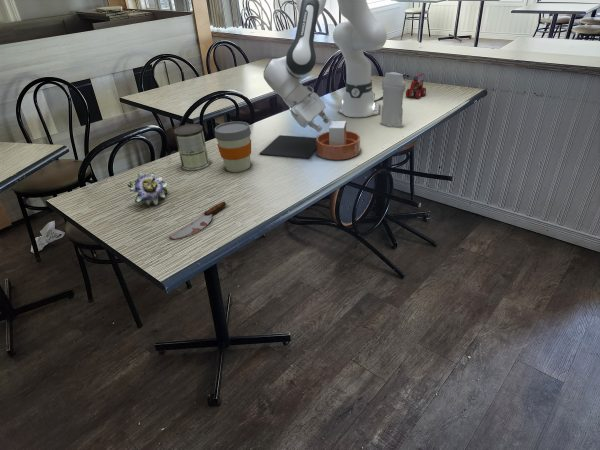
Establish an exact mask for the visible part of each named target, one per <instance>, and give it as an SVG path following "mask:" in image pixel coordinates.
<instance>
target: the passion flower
mask: <svg viewBox="0 0 600 450" xmlns="http://www.w3.org/2000/svg"><path fill="white" fill-rule="evenodd" d="M127 187H128V188H129V191H130V192H133V193H137V195H136V197H135V199H134V202H135V203H140V202H141V201H142V200H143V202H144V203H145V204H146V205H147V206H150V204H153V205H154V206H158V204H159V198H166V194H168V182H165V181H164V180H163V177H161V176H159V177H155V171H151V172H150V173H149V174H148V175H147V174H146V173H143V172H142V171H138V173H137V177H136V179H135V180H130V181H129V184H128V183H127Z"/></svg>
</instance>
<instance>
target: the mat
mask: <svg viewBox="0 0 600 450" xmlns="http://www.w3.org/2000/svg"><path fill="white" fill-rule="evenodd" d="M316 138H317V137H311V136H295V135H282V134H280V135H278V136H277V137H276V138H275V139H274V140H272V141H271V142H270V143H269V144H268V145H266V147H265V148H264V149H263V150H261V152H259V155H260V156H269V157H278V158H279V157H281V158H290V159H304V160H309V159H310V158H311V156H312V155H313V154H314V153H315V152H316V151H317V144H316Z"/></svg>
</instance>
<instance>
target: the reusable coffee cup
mask: <svg viewBox="0 0 600 450" xmlns="http://www.w3.org/2000/svg"><path fill="white" fill-rule="evenodd" d="M251 135H252V132H251V126H250V124H249V123H248V122H245V121H227V122H223V123H221V124H218V125H217V126H215V128H214V137H215V140H216V141H217V149H218V151H219V154H220V157H221V158H222V160H223V165H224V167H225V169H226V171H228V172H231V173H240V172H244V171H246V170H248V169H249V168H251V154H252V139H251Z"/></svg>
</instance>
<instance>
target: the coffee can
mask: <svg viewBox="0 0 600 450" xmlns="http://www.w3.org/2000/svg"><path fill="white" fill-rule="evenodd" d="M173 134H174V138H175V141H176V146H177V149H178V150H177V151H178V154H179V158H180V162H181V167H182V169H184V170H185V171H198V170H202V169H204V168H207V167H208V166H209V165H210V158H209V155H208V149H207V144H206V139H205V134H204V127H203V125H201V124H198V123H189V124H184V125H180V126H178V127H176V128H174V129H173Z"/></svg>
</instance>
